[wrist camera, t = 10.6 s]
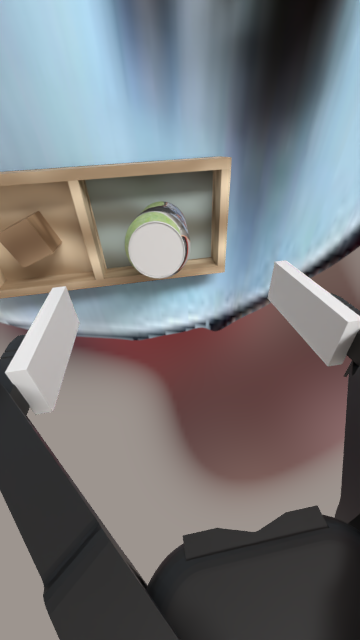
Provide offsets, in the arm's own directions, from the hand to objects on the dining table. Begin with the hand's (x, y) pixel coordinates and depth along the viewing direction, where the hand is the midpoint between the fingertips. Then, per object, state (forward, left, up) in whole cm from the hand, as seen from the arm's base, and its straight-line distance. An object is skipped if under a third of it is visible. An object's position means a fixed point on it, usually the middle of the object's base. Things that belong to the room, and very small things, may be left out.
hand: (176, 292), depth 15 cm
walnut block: (0, -14, -19) cm, 24 cm away
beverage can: (0, 0, -19) cm, 19 cm away
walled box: (0, -6, -20) cm, 21 cm away
